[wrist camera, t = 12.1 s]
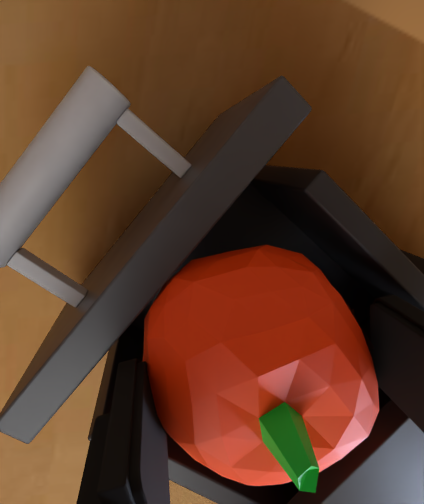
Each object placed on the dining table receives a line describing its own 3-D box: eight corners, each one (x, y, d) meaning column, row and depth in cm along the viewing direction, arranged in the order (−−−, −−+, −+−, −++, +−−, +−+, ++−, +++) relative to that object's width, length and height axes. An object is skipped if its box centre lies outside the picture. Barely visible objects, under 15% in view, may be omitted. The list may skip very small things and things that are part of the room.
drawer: (-12, 256, 16) (-174, 354, 8) (148, 44, 15) (141, -85, 7) (258, 424, 22) (318, 578, 14) (392, 283, 20) (543, 363, 13)
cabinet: (200, 390, 22) (239, 584, 12) (347, 228, 20) (529, 298, 10) (350, 482, 26) (465, 675, 17) (477, 358, 25) (686, 489, 15)
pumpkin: (243, 185, 12) (336, 221, 5) (357, 328, 14) (508, 462, 8) (95, 315, 12) (31, 480, 6) (230, 431, 15) (281, 629, 9)
